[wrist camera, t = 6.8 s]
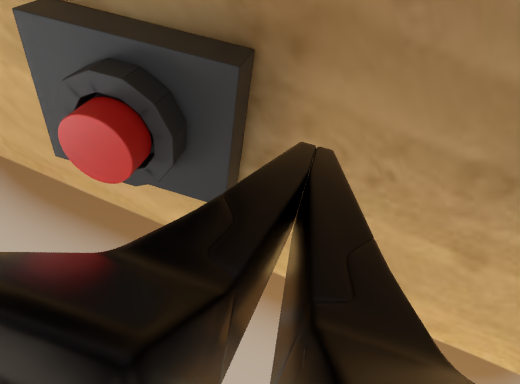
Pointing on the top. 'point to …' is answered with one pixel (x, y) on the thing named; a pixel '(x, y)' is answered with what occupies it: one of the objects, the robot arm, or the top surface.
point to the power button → (105, 139)
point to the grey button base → (145, 89)
